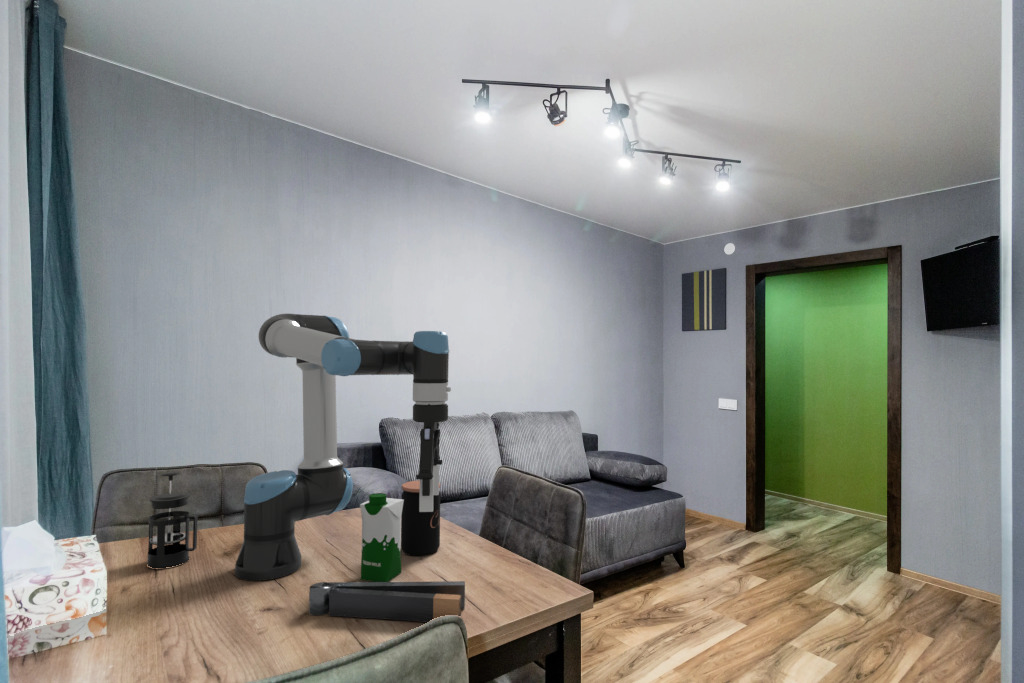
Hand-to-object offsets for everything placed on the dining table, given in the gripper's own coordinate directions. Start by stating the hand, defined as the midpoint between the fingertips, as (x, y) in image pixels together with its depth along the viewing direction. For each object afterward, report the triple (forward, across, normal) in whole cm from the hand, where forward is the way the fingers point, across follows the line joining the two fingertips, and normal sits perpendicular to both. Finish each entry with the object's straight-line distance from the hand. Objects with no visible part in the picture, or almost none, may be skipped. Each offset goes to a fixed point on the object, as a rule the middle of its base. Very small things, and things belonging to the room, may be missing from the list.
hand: (429, 502), depth 115 cm
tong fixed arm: (+22, -1, +9) cm, 24 cm away
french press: (+22, +28, +69) cm, 78 cm away
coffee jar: (+22, +35, +6) cm, 42 cm away
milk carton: (+22, +17, +13) cm, 31 cm away
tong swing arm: (+22, -5, +6) cm, 23 cm away
